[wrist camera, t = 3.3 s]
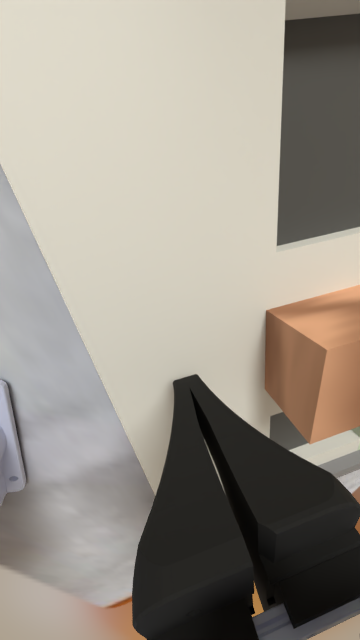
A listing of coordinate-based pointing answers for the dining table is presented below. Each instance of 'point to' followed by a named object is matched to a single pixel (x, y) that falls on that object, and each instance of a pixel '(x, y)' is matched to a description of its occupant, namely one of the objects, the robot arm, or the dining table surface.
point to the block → (316, 362)
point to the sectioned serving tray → (187, 188)
